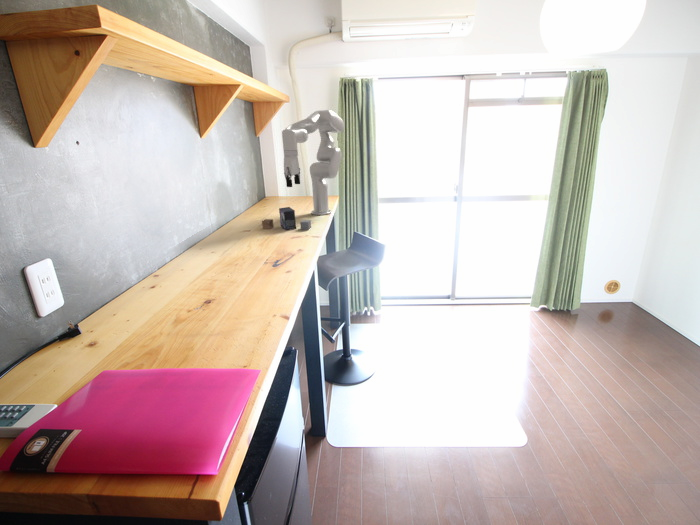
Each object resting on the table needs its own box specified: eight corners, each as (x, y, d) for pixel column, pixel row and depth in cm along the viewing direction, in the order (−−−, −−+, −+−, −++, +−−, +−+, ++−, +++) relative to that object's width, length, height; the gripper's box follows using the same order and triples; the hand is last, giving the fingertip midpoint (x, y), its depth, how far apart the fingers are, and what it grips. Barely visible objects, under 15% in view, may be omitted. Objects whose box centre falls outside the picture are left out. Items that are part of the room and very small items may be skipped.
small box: (279, 226, 208) (278, 207, 205) (291, 224, 211) (289, 206, 207) (285, 230, 199) (283, 211, 195) (296, 228, 202) (295, 210, 198)
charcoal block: (303, 227, 203) (302, 220, 202) (311, 228, 203) (310, 220, 201) (300, 230, 199) (300, 221, 198) (308, 230, 198) (308, 222, 197)
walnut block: (266, 227, 208) (265, 219, 206) (273, 227, 207) (272, 219, 205) (262, 229, 204) (261, 221, 202) (270, 229, 203) (269, 221, 201)
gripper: (291, 152, 208) (294, 182, 214) (276, 155, 193) (280, 188, 199) (303, 152, 206) (306, 183, 212) (289, 155, 191) (292, 188, 197)
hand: (293, 185), depth 206 cm, fingers open, 9 cm apart
